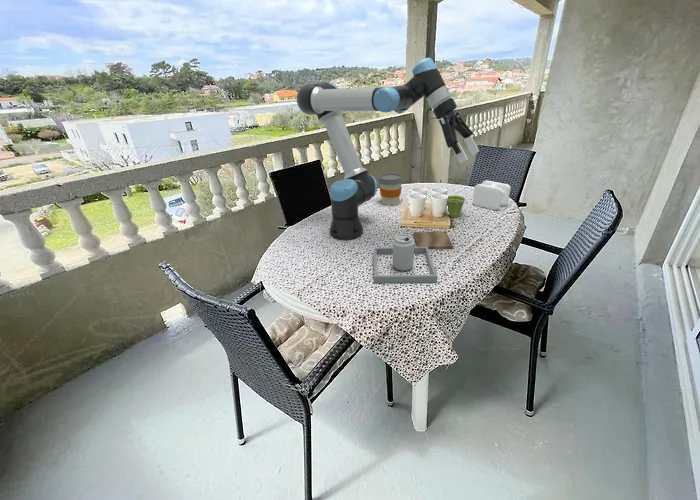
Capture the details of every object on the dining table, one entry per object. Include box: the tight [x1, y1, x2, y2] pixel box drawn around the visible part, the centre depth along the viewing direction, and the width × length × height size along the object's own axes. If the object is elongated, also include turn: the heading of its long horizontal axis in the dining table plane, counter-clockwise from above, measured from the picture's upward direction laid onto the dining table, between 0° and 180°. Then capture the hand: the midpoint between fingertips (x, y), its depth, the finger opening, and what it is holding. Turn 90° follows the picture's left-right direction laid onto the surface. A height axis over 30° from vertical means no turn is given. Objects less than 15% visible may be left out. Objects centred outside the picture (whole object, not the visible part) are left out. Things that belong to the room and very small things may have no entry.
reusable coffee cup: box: [378, 173, 403, 207], centre depth 171 cm, size 13×13×15 cm
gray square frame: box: [373, 246, 438, 284], centre depth 114 cm, size 21×21×2 cm
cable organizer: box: [472, 179, 511, 211], centre depth 161 cm, size 15×11×12 cm
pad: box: [412, 230, 454, 250], centre depth 131 cm, size 14×14×1 cm
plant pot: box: [446, 195, 466, 218], centre depth 153 cm, size 9×9×9 cm
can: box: [392, 233, 415, 272], centre depth 112 cm, size 8×8×12 cm
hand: (470, 157), depth 112 cm, fingers open, 13 cm apart
